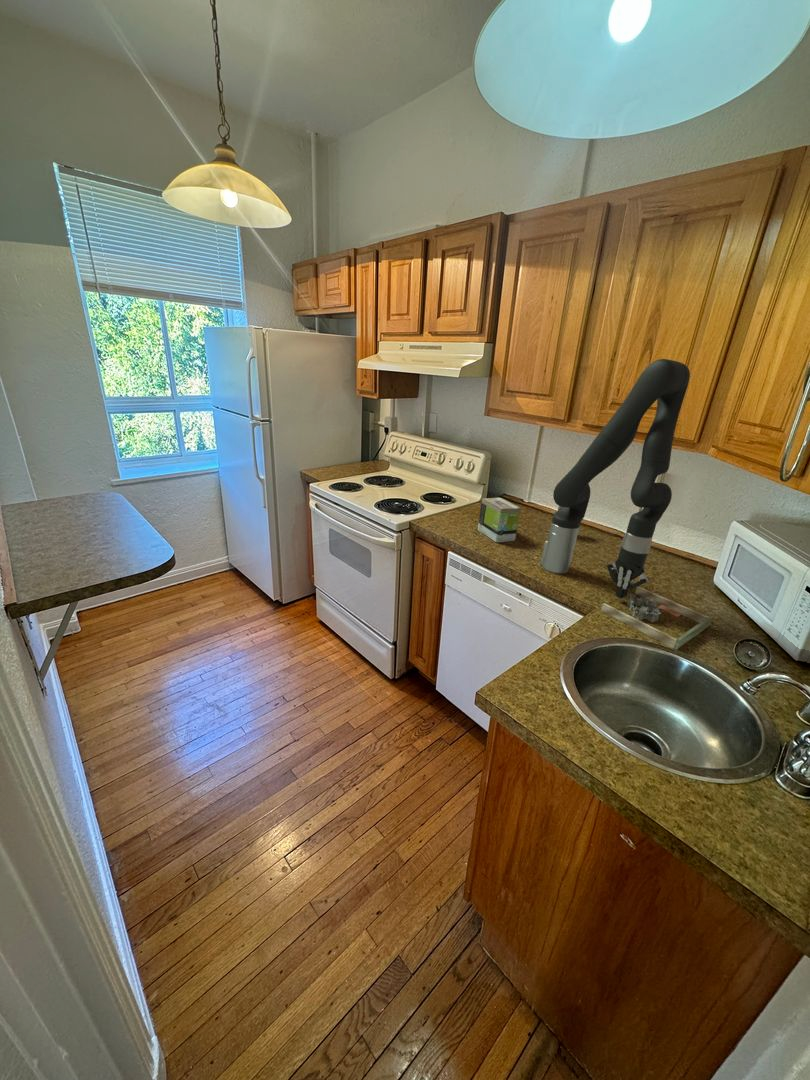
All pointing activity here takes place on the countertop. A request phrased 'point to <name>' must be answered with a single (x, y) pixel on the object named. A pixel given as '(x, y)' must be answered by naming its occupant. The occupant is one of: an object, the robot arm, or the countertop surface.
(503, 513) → the tea box
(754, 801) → the countertop surface
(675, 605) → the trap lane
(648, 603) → the egg carton
